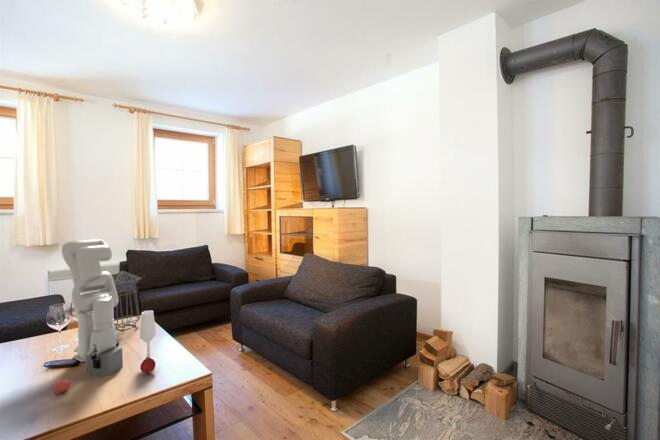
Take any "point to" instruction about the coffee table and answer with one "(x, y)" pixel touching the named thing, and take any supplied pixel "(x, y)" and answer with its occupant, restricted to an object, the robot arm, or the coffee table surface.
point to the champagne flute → (147, 329)
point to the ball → (61, 386)
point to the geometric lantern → (126, 297)
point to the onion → (147, 365)
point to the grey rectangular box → (106, 362)
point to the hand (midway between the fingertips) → (105, 363)
